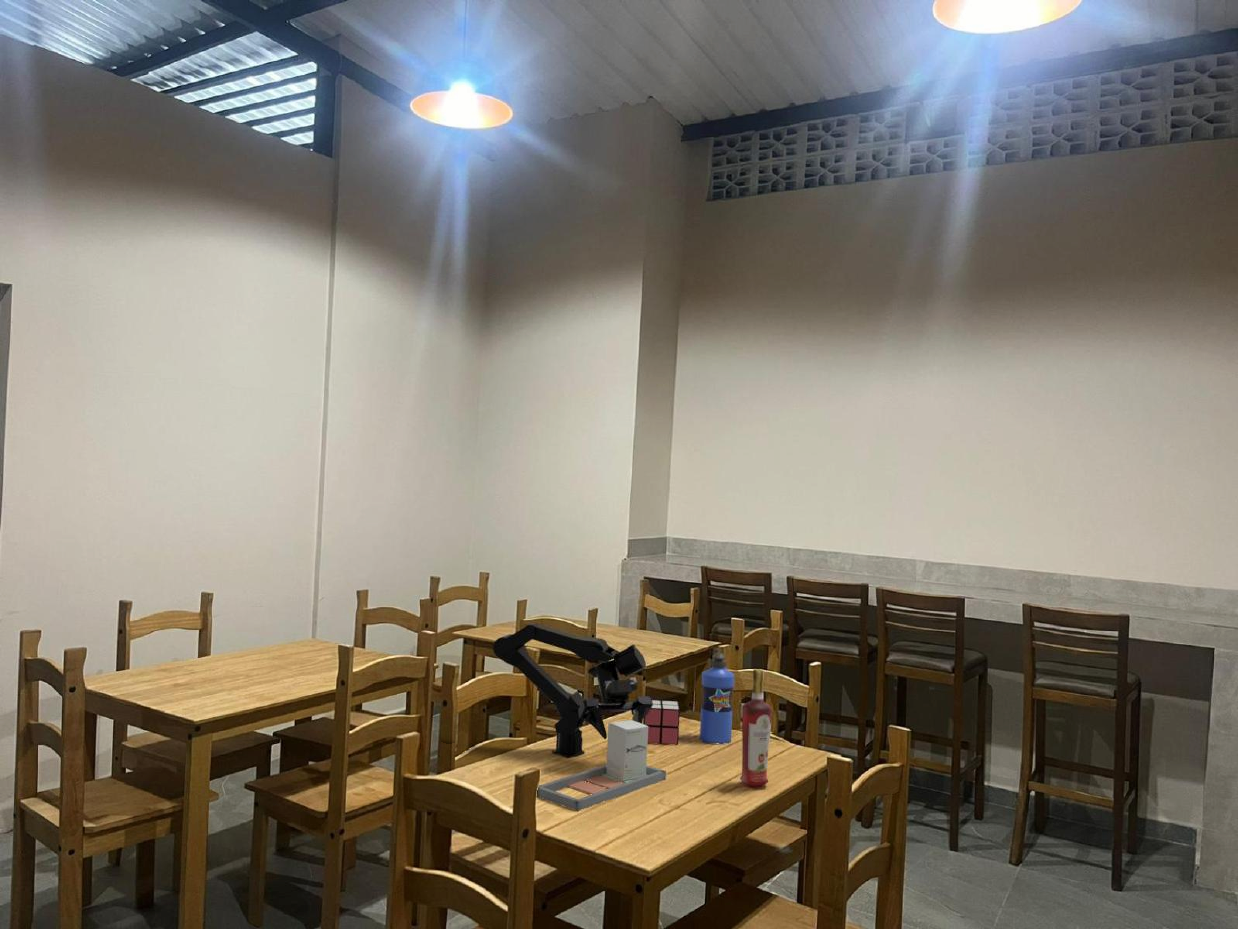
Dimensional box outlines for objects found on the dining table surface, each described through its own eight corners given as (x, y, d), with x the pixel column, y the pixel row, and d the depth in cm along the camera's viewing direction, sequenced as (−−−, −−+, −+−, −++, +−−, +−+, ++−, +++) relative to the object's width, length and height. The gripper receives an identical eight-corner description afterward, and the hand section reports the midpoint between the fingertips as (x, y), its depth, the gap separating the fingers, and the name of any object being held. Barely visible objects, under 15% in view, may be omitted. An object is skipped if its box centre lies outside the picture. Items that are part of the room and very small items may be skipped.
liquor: (759, 779, 225) (764, 666, 226) (774, 788, 218) (779, 672, 219) (733, 781, 222) (738, 667, 223) (748, 791, 215) (753, 673, 216)
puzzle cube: (678, 745, 252) (679, 709, 252) (642, 743, 252) (644, 707, 252) (676, 736, 262) (678, 701, 262) (642, 734, 262) (643, 699, 262)
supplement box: (622, 782, 216) (625, 729, 216) (605, 773, 222) (607, 722, 222) (646, 777, 220) (649, 726, 221) (629, 769, 226) (631, 718, 227)
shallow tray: (534, 795, 205) (534, 787, 205) (623, 766, 230) (623, 759, 230) (578, 811, 196) (578, 802, 196) (665, 779, 221) (666, 771, 221)
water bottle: (695, 735, 263) (699, 649, 264) (726, 735, 265) (729, 650, 265) (704, 744, 254) (708, 655, 255) (735, 744, 256) (739, 656, 256)
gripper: (584, 666, 227) (596, 722, 216) (652, 665, 233) (667, 718, 223) (572, 691, 234) (584, 746, 223) (639, 689, 241) (653, 742, 230)
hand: (622, 737), depth 225 cm, fingers open, 9 cm apart
